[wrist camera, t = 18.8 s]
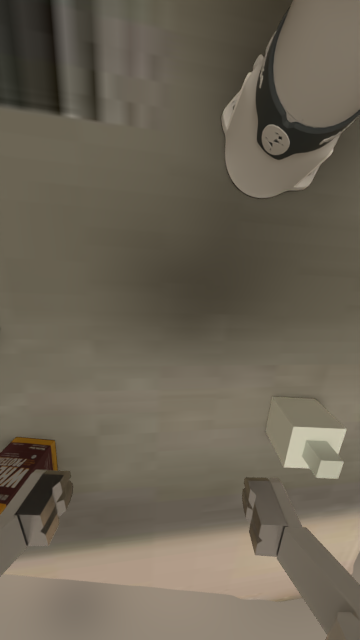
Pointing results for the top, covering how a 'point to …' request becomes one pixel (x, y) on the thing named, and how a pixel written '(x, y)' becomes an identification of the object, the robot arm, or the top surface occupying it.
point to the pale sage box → (305, 435)
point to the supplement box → (23, 464)
